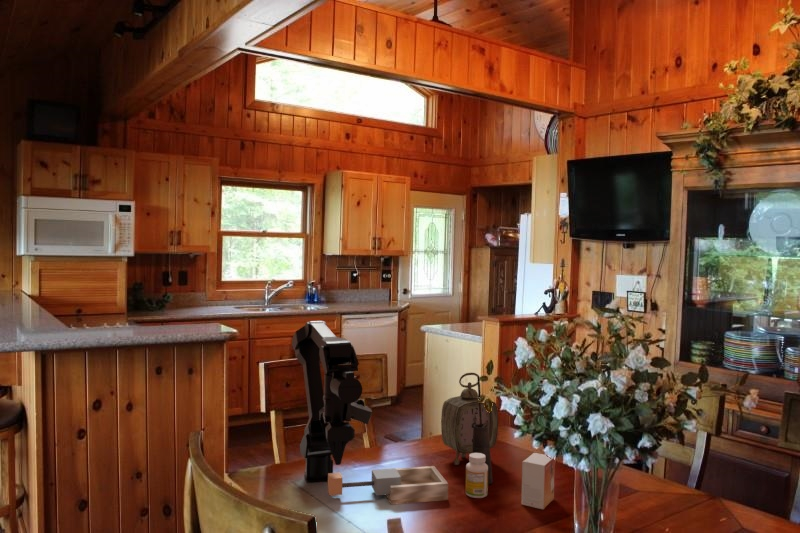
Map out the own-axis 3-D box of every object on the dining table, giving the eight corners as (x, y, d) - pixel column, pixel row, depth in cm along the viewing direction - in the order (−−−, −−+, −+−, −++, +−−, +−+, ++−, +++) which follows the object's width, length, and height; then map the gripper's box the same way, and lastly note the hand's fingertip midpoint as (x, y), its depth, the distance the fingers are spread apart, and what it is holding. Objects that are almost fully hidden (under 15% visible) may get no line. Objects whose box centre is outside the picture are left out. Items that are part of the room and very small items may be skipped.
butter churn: (485, 471, 171) (488, 368, 170) (509, 483, 163) (512, 375, 162) (458, 478, 166) (461, 372, 165) (482, 490, 158) (484, 379, 157)
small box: (543, 510, 147) (544, 465, 146) (520, 504, 150) (521, 461, 149) (554, 499, 154) (555, 456, 153) (532, 493, 157) (533, 451, 156)
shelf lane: (390, 504, 148) (391, 487, 148) (380, 485, 160) (380, 469, 160) (447, 499, 152) (448, 483, 152) (433, 481, 163) (434, 465, 163)
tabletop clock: (454, 468, 173) (456, 377, 172) (437, 458, 181) (438, 371, 180) (497, 460, 180) (499, 373, 179) (479, 451, 188) (481, 367, 187)
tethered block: (330, 498, 148) (330, 480, 148) (327, 488, 154) (327, 471, 154) (400, 493, 152) (401, 475, 152) (395, 484, 158) (395, 467, 158)
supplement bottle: (474, 488, 159) (475, 450, 159) (491, 494, 155) (492, 455, 155) (460, 494, 156) (461, 455, 155) (478, 500, 152) (479, 460, 151)
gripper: (377, 401, 143) (376, 469, 144) (362, 383, 161) (362, 444, 162) (328, 403, 141) (327, 472, 141) (319, 385, 159) (318, 446, 159)
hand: (335, 458), depth 151 cm, fingers open, 9 cm apart
